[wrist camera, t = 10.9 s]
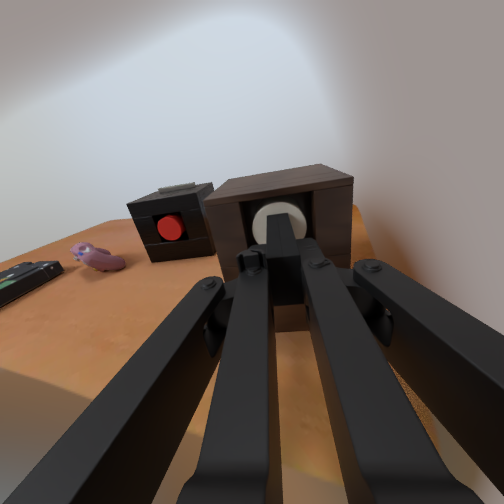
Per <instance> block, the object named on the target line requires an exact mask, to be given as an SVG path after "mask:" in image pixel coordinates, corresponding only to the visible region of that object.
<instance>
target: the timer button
mask: <svg viewBox="0 0 504 504" xmlns="http://www.w3.org/2000/svg"><path fill="white" fill-rule="evenodd" d="M281 213H288V215H289V219H290V222H291V225H292V229H293V232H294V235H295V238H296V239H303V238H304V237H305V234H306V230H307V224H306V219H305V217H304V215H303V212H302V210H301V208H300V206H299V204H298V203H297V202H296V201H295V200H294V199H292V198H291V197H289V196H286V195H281V196H275V197H268V198H266V199H264V200H263V201H262V202H261V203H260V204H259V205H258V207H257V209H256V212H255V216H254V220H253V225H252V231H253V236H254V238H255V240H256V242H257V243H258V244H266V228H267V215H274V214H281Z"/></svg>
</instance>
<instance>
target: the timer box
mask: <svg viewBox="0 0 504 504" xmlns="http://www.w3.org/2000/svg"><path fill="white" fill-rule="evenodd" d="M353 181H354V177H353V176H350V175H348V174H346V173H343V172H340V171H338V170H335V169H333V168H330V167H328V166H325V165H322V164H315V165H309V166H304V167H298V168H292V169H286V170H280V171H274V172H268V173H262V174H256V175H251V176H245V177H239V178H233V179H228V180H227V181H226V182H225V183H224V184H223V185H221V186H220V187H219V188H217V189H216V190H215V191H214V192H212V193H211V194H210V195H209V196H208V197H206V198H205V199H204V200H203V204H204V207H205V211H206V215H207V218H208V222H209V226H210V229H211V233H212V237H213V240H214V244H215V248H216V251H217V255H218V259H219V263H220V266H221V270H222V274H223V277H224V281H225V282H228V281H232V280H234V279H236V278H238V276H239V269H238V265H237V260H236V256H237V254H239V253H240V252H242V251H244V250H248V249H249V248H250V247H251V246H252V245H259V244H258V243H257V242H256V240H255V238H254V236H253V231H252V225H253V220H254V216H255V212H256V209H257V207H258V205H259V204H260V203H261V202H262V201H263V200H264V199H266V198H268V197H275V196H281V195H286V196H289V197H291V198H292V199H294V200H295V201H296V202H297V203H298V204H299V206H300V208H301V210H302V212H303V215H304V217H305V219H306V224H307V230H306V234H305V237H304V238H312V239H314V240H316V241H317V243H318V245H319V247H320V249H321V251H322V253H323V255H324V257H325V258H327V259H330V260H331V261H332V262H333V264H334V265H335V267H338V268H346V269H350V263H351V254H350V253H351V232H352V206H353V183H354V182H353ZM273 308H274V317H275V332H289V331H306V330H310V329H309V325H308V323H306V313H305V302H304V304H298V305H285V306H274V307H273Z"/></svg>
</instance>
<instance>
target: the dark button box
mask: <svg viewBox="0 0 504 504" xmlns="http://www.w3.org/2000/svg"><path fill="white" fill-rule="evenodd" d="M158 190H159V191H157V192H154V193H152V194H149V195H147V196H145V197H142V198H140V199H137V200H135V201H133V202H130V203H128V204H127V207H128V209H129V211H130V214H131V216H132V218H133V221H134V223H135V226H136V228H137V230H138V232H139V235H140V237H141V239H142V242H143V244H144V246H145V249H146V251H147V253H148V255H149V258H150V260H151V262H152V263H153V262H161V261H170V260H178V259H187V258H195V257H204V256H212V255H214V254H215V252H216V248H215V244H214V240H213V237H212V233H211V229H210V226H209V222H208V218H207V215H206V211H205V207H204V204H203V200H204V199H205V198H206V197H208V196H209V195H210V194H211V193H212V192H214V188H213V184H212V182H211V183H204V184H199V185H195V182H193V183H188V184H181V185H175V186H170V187H164V188H159V189H158ZM171 213H176V214H179V215H181V216H182V218H183V222H184V225H185V228H186V230H185V232H184V233H183V234H182V235H181V236H180V237H179V238H178V239H176V240H167V239H165V238H164V237H162V236H161V235H160V233H159V231H158V222H159V221H160V220H161V219H162V218H164V217H165V216H167V215H168V214H171Z"/></svg>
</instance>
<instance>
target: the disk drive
mask: <svg viewBox="0 0 504 504" xmlns="http://www.w3.org/2000/svg"><path fill="white" fill-rule="evenodd" d="M62 271H64V269H63V268H62V266H61V264H60V263H59V261H39V262H36V263H32V262H23V263H21V264H18V265H16V266H14V267H12V268H9V269H8V270H5V271H3V272H0V307H1V306H3V305H4V304H6V303H8V302H10V301H11V300H13V299H15V298H17V297H19V296H21V295H23V294H25V293H26V292H28V291H30V290H32V289H34V288H36V287H37V286H39V285H41V284H43V283H45V282H46V281H48V280H50V279H52V278H54V277H55V276H56V275H58V274H60V273H61V272H62Z"/></svg>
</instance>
